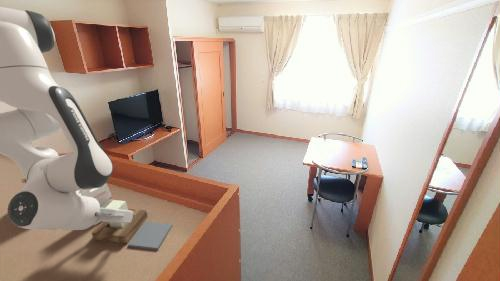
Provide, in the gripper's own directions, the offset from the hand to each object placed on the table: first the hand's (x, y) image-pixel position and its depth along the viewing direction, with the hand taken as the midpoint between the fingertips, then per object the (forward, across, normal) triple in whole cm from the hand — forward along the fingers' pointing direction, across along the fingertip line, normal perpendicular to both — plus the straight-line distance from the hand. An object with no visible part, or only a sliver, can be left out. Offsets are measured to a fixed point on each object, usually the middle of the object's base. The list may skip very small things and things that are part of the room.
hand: (114, 215), depth 76 cm
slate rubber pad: (+5, -12, +5) cm, 14 cm away
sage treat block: (+6, 0, +4) cm, 7 cm away
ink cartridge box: (+9, +11, +1) cm, 14 cm away
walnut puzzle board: (+6, 0, +4) cm, 7 cm away
